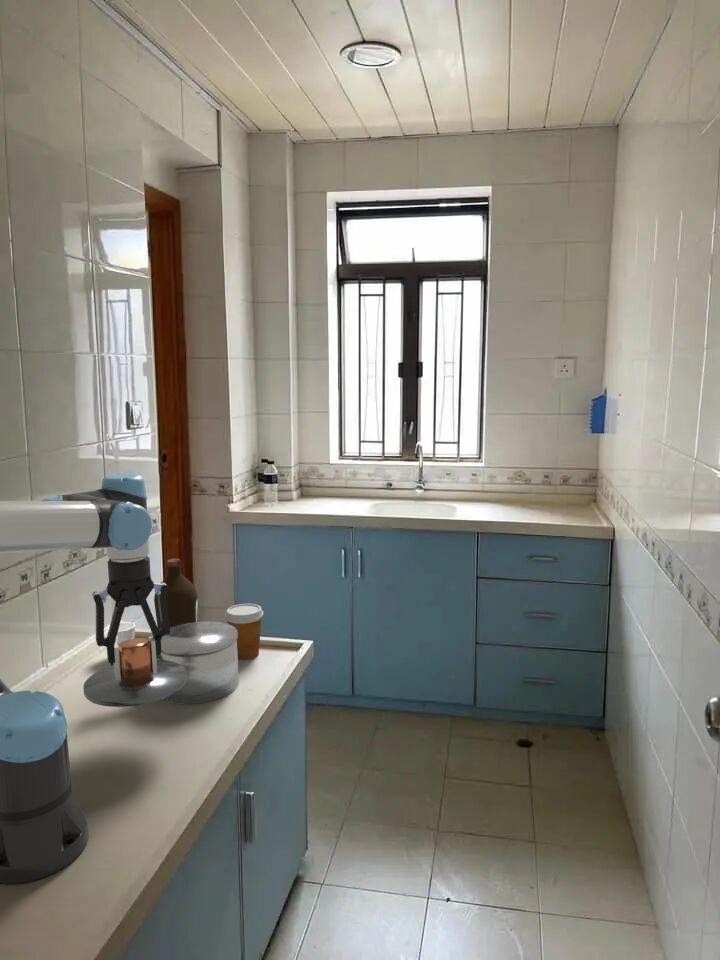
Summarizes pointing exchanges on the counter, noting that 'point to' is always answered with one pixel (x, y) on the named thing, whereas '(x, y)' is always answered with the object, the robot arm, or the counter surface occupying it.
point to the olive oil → (178, 597)
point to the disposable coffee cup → (246, 628)
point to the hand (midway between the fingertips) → (136, 674)
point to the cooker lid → (135, 678)
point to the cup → (125, 632)
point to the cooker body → (203, 660)
